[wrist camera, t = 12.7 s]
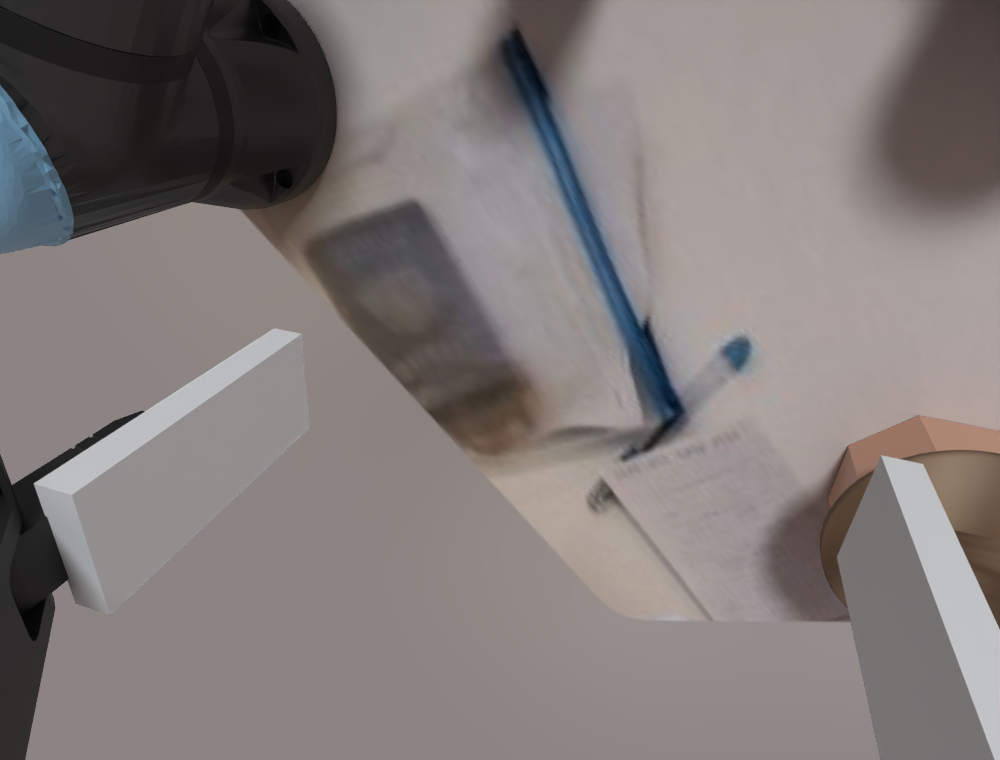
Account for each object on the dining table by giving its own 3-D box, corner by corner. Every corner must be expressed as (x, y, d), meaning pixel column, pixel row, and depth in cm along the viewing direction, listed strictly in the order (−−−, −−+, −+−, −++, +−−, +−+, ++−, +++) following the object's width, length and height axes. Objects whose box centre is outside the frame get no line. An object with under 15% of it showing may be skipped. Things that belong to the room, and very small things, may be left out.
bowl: (814, 533, 48) (823, 591, 43) (864, 404, 43) (881, 453, 37) (983, 574, 45) (1014, 641, 40) (1058, 442, 40) (1106, 500, 35)
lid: (794, 602, 44) (804, 701, 37) (858, 426, 37) (885, 509, 31) (1033, 663, 40) (1092, 784, 34) (1152, 482, 34) (1253, 588, 27)
